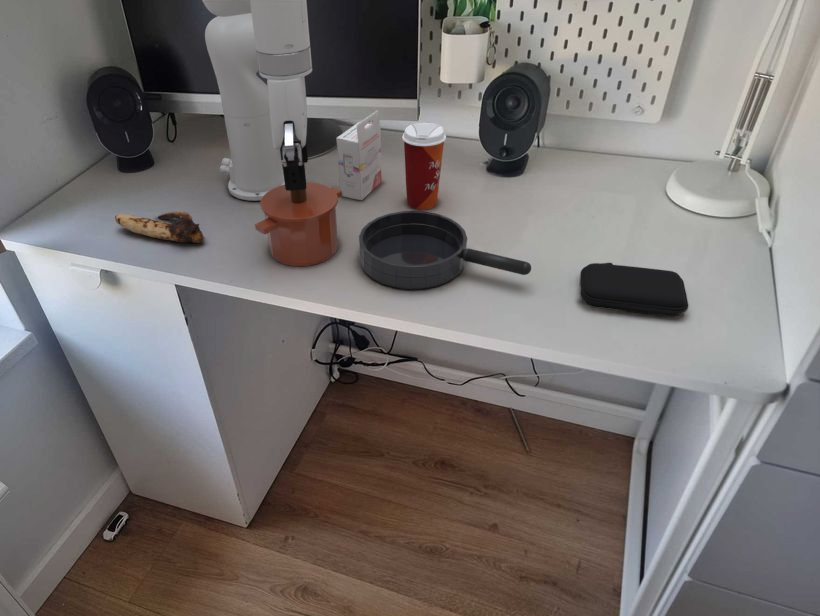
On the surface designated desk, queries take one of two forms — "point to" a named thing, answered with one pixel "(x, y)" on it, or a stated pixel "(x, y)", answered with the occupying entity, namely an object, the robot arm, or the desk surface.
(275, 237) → the pot
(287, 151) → the robot arm
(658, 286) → the carrying case
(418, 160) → the paper cup
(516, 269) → the pan handle
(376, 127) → the ink cartridge box
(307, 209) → the lid
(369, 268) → the pan
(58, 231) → the desk surface
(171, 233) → the overripe banana
